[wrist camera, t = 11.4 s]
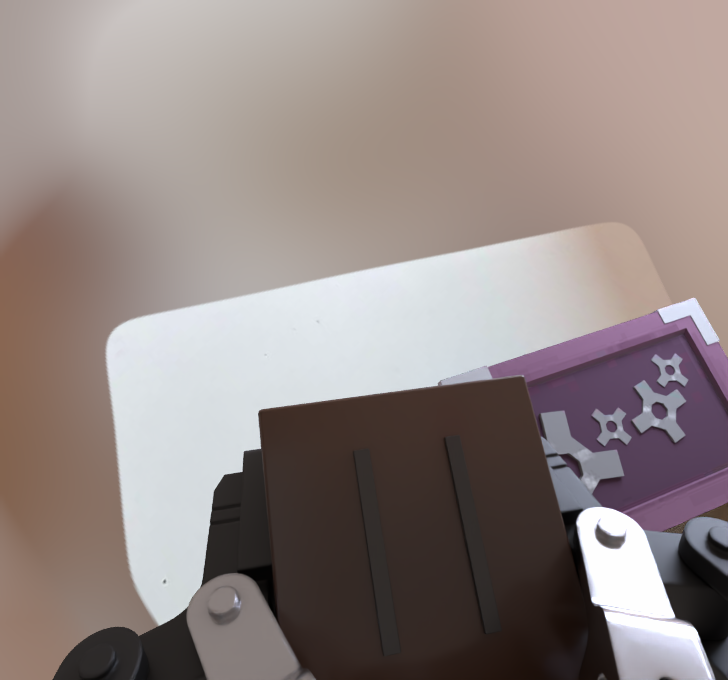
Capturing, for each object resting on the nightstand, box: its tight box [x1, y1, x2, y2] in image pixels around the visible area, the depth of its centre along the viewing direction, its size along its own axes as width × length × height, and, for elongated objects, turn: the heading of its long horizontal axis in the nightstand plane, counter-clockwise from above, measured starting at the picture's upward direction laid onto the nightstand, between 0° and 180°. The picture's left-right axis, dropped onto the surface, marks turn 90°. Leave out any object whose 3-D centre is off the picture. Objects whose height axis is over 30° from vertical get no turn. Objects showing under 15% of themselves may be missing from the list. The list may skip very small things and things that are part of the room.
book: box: [438, 298, 728, 532], centre depth 41 cm, size 25×16×5 cm, turn 109°
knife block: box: [258, 375, 588, 680], centre depth 16 cm, size 6×6×16 cm
